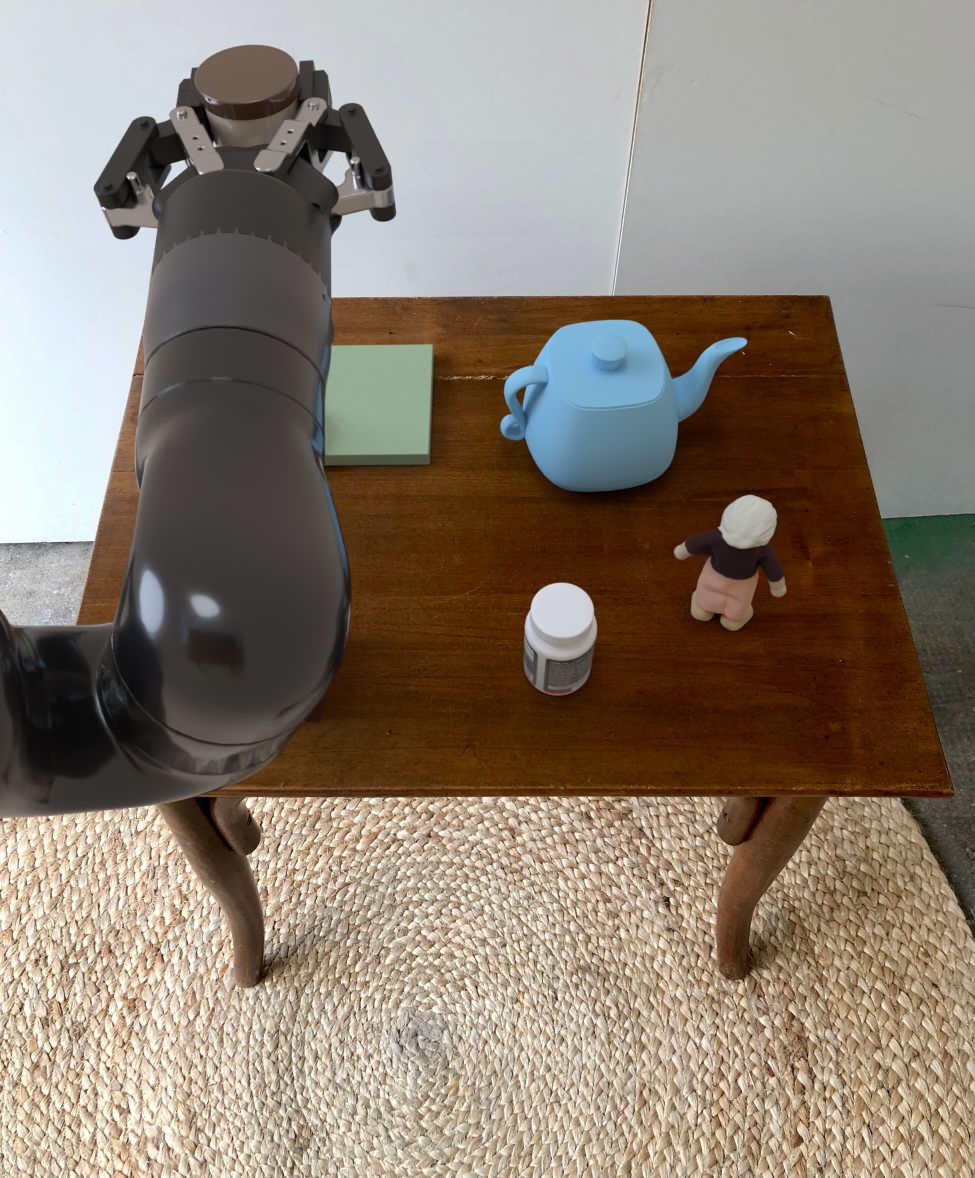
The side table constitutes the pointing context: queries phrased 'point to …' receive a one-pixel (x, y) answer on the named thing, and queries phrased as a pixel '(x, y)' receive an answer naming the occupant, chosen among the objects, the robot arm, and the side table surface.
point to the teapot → (605, 404)
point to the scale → (379, 405)
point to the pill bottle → (559, 639)
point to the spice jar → (248, 93)
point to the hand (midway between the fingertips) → (257, 81)
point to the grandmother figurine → (735, 562)
